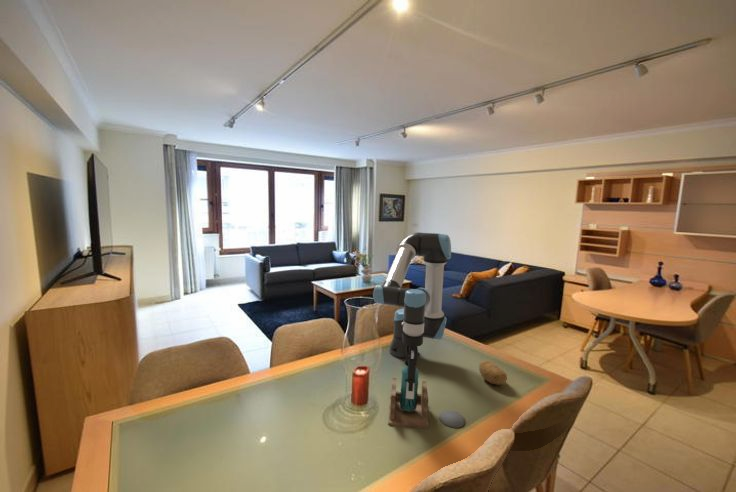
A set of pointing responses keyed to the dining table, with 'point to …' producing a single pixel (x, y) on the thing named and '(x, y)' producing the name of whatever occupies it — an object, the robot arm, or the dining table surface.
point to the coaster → (452, 419)
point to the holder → (405, 417)
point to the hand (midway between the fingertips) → (409, 387)
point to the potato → (492, 372)
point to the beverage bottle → (405, 402)
